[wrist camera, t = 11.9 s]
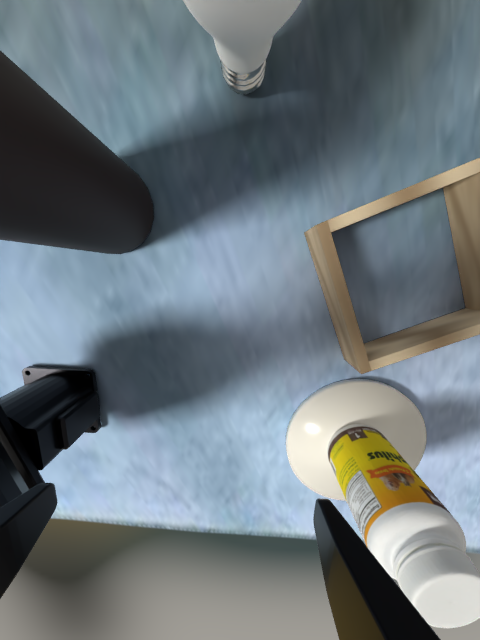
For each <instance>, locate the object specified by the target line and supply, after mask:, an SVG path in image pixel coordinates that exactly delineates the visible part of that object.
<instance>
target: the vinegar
mask: <svg viewBox="0 0 480 640" xmlns="http://www.w3.org/2000/svg"><path fill="white" fill-rule="evenodd" d="M153 219H154V212H153V202H152V199H151V196H150V193H149V190H148V188H147V187H146V185H145V184H144V182H143V181H142V179H141V178H140V177H139V175H138V174H136V173H135V172H134V171H133V170H132V169H131V168H130V167H129V166H128V165H127V164H125V163H124V162H123V161H122V160H121V159H120V158H119V157H118V156H117V155H115V154H114V153H113V152H112V151H111V150H110V149H109V148H108V147H107V146H105V145H104V144H103V143H102V142H101V141H100V140H99V139H98V138H97V137H95V136H94V135H93V134H92V133H91V132H90V131H89V130H88V129H87V128H86V127H84V126H83V125H82V124H81V123H80V122H79V121H78V120H77V119H76V118H74V117H73V116H72V115H71V114H70V113H69V112H68V111H67V110H66V109H64V108H63V107H62V106H61V105H60V104H59V103H58V102H57V101H56V100H54V99H53V98H52V97H51V96H50V95H49V94H48V93H47V92H46V91H45V90H43V89H42V88H41V87H40V86H39V85H38V84H37V83H36V82H35V81H33V80H32V79H31V78H30V77H29V76H28V75H27V74H26V73H25V72H23V71H22V70H21V69H20V68H19V67H18V66H17V65H16V64H15V63H13V62H12V61H11V60H10V59H9V58H8V57H7V56H6V55H5V54H4V53H2V52H1V51H0V240H7V241H15V242H22V243H30V244H38V245H46V246H53V247H61V248H69V249H77V250H84V251H92V252H100V253H107V254H122V253H125V252H128V251H132V250H134V249H135V248H137V247H138V246H139V245H140V244H142V243H143V242H144V241H145V239H146V238H147V236H148V234H149V233H150V231H151V227H152V223H153Z"/></svg>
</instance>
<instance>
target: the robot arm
mask: <svg viewBox="0 0 480 640" xmlns="http://www.w3.org/2000/svg"><path fill="white" fill-rule="evenodd" d="M29 371H30V372H29ZM22 373H23V379H24V384H25V385H24V386H22V387H20V388H18V389H16V390H14V391H12V392H10V393H9V394H7V395H5V396H3V397H1V398H0V598H1V597H2V596H3V594H4V593H5V591H6V590H7V588H8V587H9V585H10V584H11V582H12V581H13V579H14V578H15V576H16V575H17V573H18V572H19V570H20V568H21V567H22V565H23V563H24V562H25V560H26V558H27V557H28V555H29V553H30V552H31V550H32V548H33V547H34V545H35V543H36V541H37V540H38V538H39V536H40V535H41V533H42V531H43V530H44V528H45V526H46V525H47V523H48V521H49V519H50V518H51V516H52V514H53V513H54V511H55V509H56V506H57V496H56V490H55V485H54V484H53V483H45V482H44V480H43V478H42V476H41V475H40V473H39V471H38V470H42V469H43V468H44V467H45V466H46V465H47V464H48V463H49V462H50V461H52V460H53V459H54V458H55V457H56V456H57V455H58V454H59V453H60V452H61V451H62V450H63V449H68V448H69V447H70V446H71V445H72V444H73V443H74V442H75V441H76V440H77V439H78V438H79V437H80V436H81V435H82V434H83V433H84V432H87V433H96V432H97V431H98V430H99V429H100V428H101V422H100V408H99V399H98V393H97V384H96V375H95V372H94V371H93V370H92V369H79V368H58V367H38V366H29V367H27V368H25V369H23V371H22ZM88 374H89V375H90V376H88ZM314 528H315V533H316V539H317V544H318V549H319V554H320V560H321V565H322V570H323V575H324V580H325V586H326V591H327V595H328V599H329V603H330V606H331V610H332V614H333V618H334V621H335V625H336V629H337V632H338V636H339V640H440V639H439V637H438V636H437V635H436V634H435V632H434V631H433V630H432V628H431V627H430V626H429V624H428V623H427V622H426V621H425V619H424V618H423V617H422V616H421V614H420V613H419V612H418V611H417V609H416V608H415V607H414V606H413V604H412V603H411V602H410V601H409V599H408V598H407V597H406V595H405V594H404V593H403V592H402V590H401V589H400V588H399V587H398V585H397V584H396V583H395V582H394V580H393V579H392V578H391V577H390V575H389V574H388V573H387V572H386V570H385V569H384V568H383V567H382V565H381V564H380V563H379V561H378V560H377V559H376V558H375V556H374V555H373V554H372V553H371V551H370V550H369V549H368V548H367V546H366V545H365V544H364V543H363V541H362V540H361V539H360V538H359V536H358V535H357V534H356V533H355V531H354V530H353V529H352V527H351V526H350V525H349V524H348V522H347V521H346V520H345V519H344V517H343V516H342V515H341V514H340V512H339V511H338V510H337V509H336V507H335V506H334V505H333V504H332V502H331V501H330V500H328V499H317V500H316V504H315V511H314Z"/></svg>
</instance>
